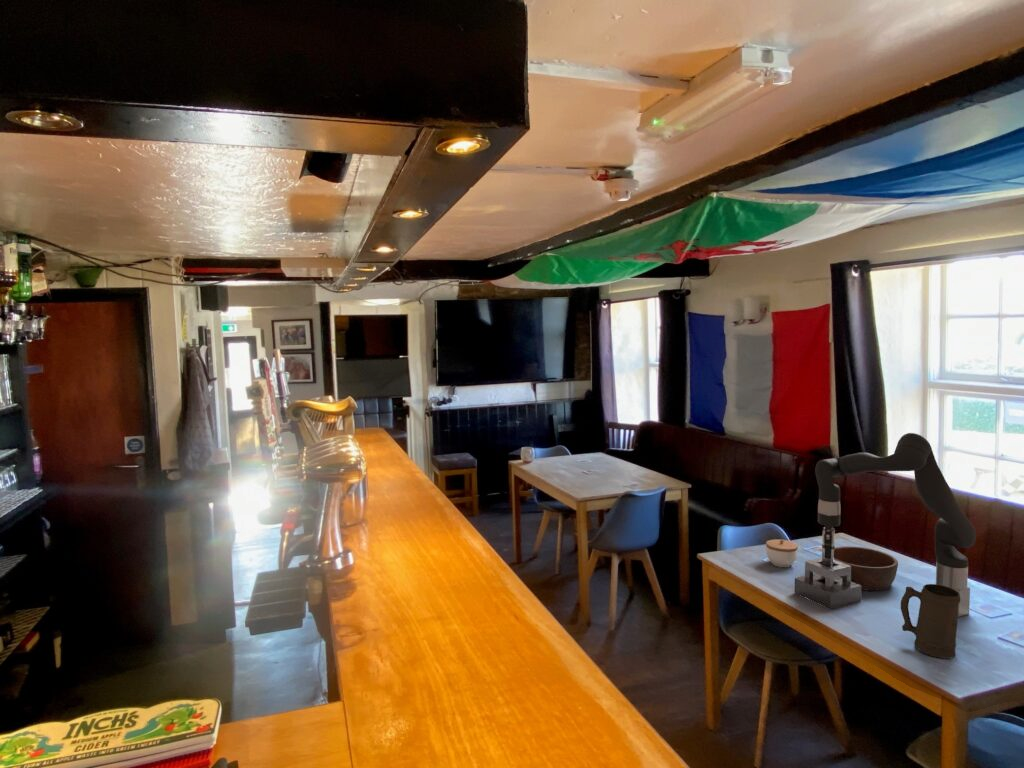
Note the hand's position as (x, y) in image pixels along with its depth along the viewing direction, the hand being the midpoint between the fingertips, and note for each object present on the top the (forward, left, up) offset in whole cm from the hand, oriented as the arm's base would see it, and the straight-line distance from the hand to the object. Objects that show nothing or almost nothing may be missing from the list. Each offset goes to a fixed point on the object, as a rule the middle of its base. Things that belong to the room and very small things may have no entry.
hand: (828, 556), depth 234 cm
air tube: (0, 0, -4) cm, 4 cm away
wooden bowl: (+5, -25, -16) cm, 30 cm away
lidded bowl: (+32, -11, -16) cm, 38 cm away
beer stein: (-41, +5, -16) cm, 44 cm away
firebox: (0, 0, -16) cm, 16 cm away
